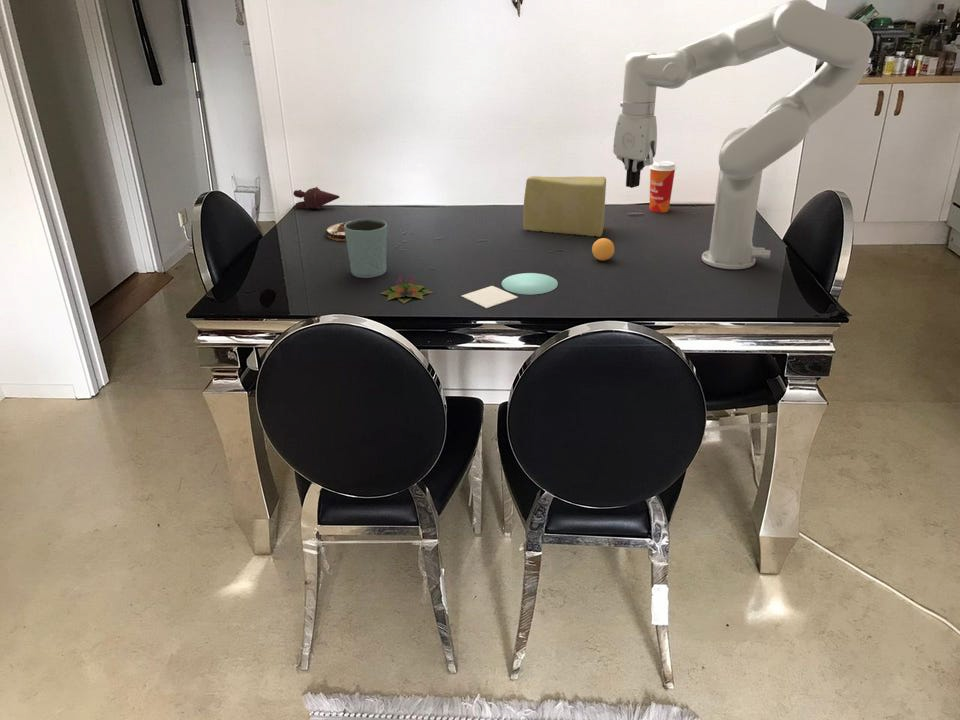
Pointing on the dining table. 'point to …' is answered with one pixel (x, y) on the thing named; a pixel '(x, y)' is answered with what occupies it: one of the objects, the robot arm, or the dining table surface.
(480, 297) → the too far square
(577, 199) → the cheese
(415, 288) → the lily flower
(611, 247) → the ball
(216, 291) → the dining table surface
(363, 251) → the green ceramic cup
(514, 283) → the disc
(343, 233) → the golden round pastry
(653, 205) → the paper cup
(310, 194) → the icecream
